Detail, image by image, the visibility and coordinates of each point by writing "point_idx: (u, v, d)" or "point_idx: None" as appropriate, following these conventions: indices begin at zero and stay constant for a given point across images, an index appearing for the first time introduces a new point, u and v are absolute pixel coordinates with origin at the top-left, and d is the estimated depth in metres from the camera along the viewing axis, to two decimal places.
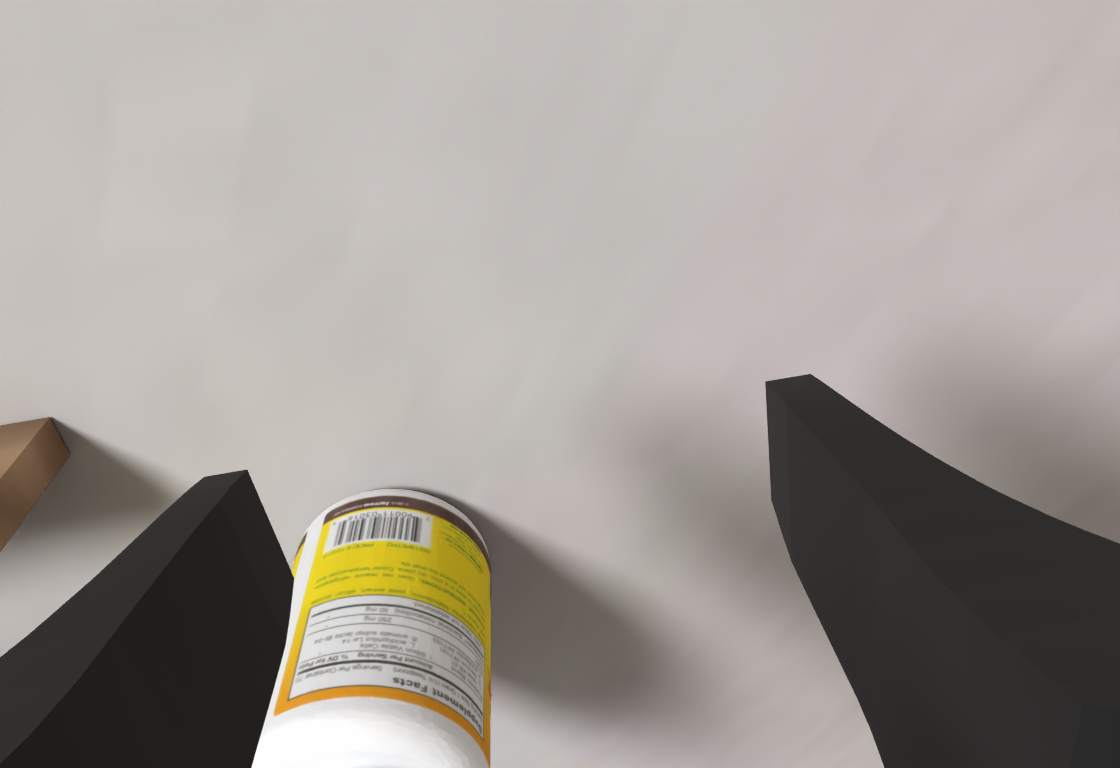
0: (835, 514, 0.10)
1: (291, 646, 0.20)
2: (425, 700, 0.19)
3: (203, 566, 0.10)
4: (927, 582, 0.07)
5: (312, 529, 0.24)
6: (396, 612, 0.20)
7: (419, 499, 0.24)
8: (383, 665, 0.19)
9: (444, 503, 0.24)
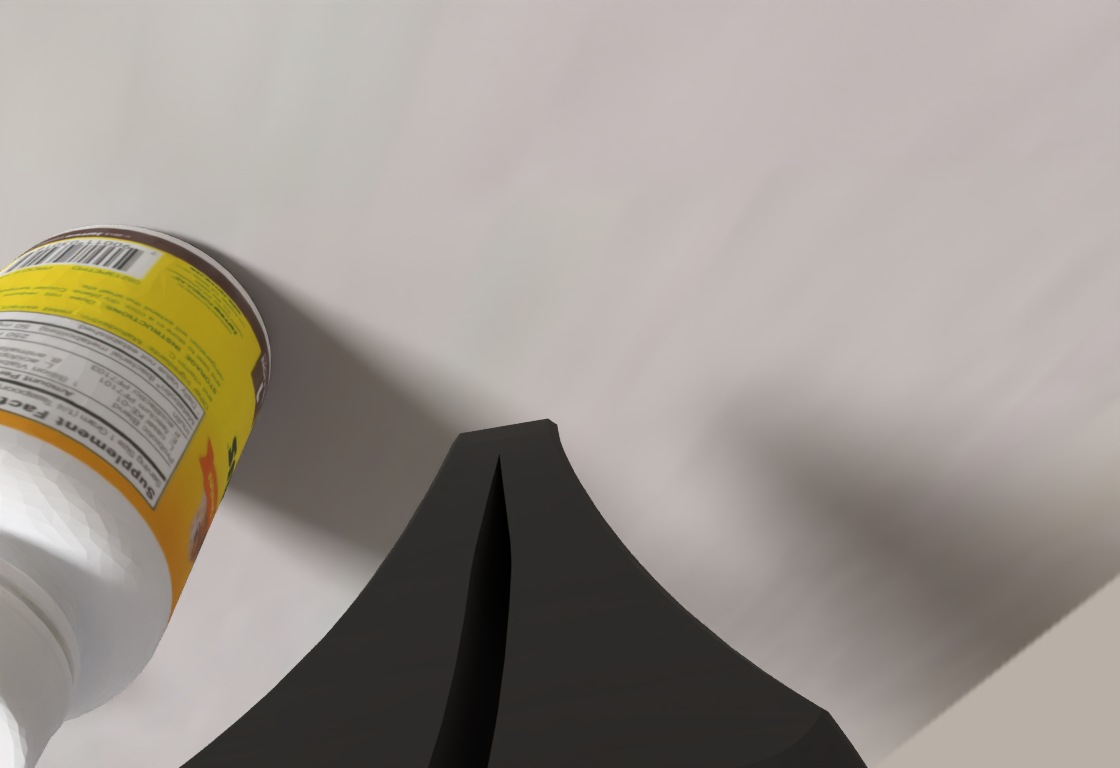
0: None
1: None
2: (35, 426, 0.12)
3: (498, 517, 0.10)
4: None
5: None
6: (41, 330, 0.13)
7: (151, 235, 0.17)
8: None
9: (192, 247, 0.18)
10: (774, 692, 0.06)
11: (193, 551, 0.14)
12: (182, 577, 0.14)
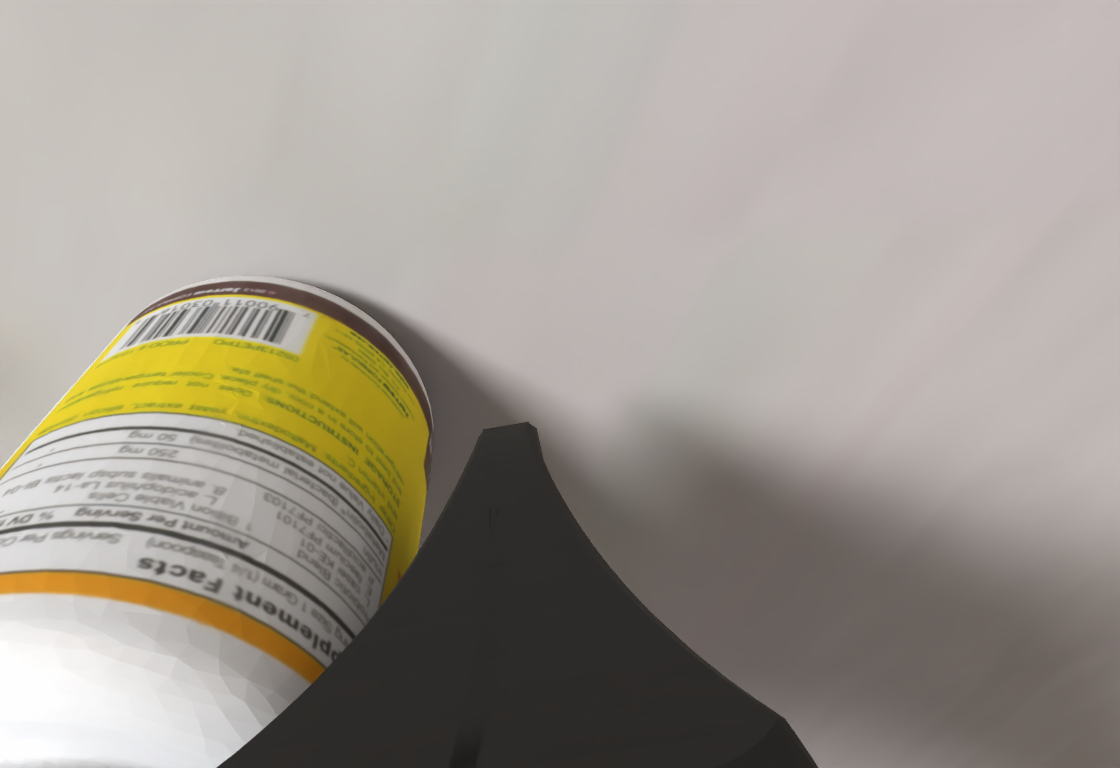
0: None
1: None
2: (209, 608, 0.08)
3: None
4: None
5: (110, 342, 0.14)
6: (192, 443, 0.10)
7: (298, 289, 0.13)
8: (125, 533, 0.08)
9: (346, 302, 0.14)
10: (733, 699, 0.06)
11: None
12: None
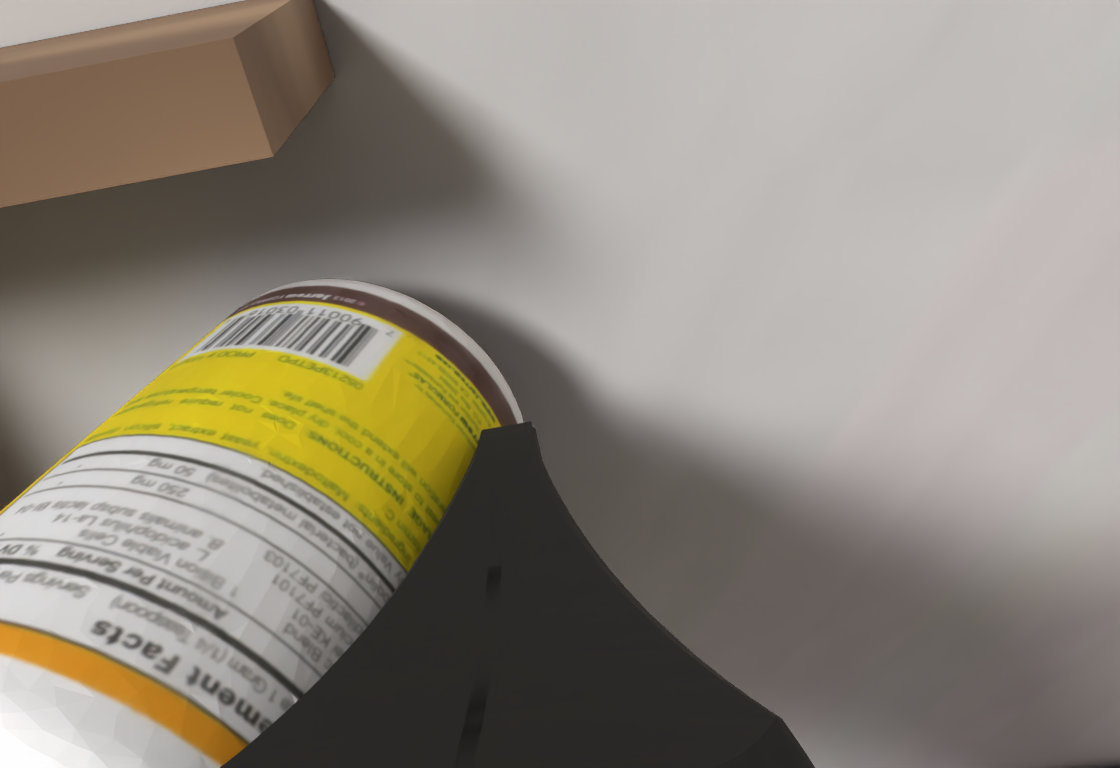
0: None
1: None
2: (150, 693, 0.07)
3: None
4: None
5: None
6: (208, 482, 0.09)
7: (391, 301, 0.12)
8: (94, 586, 0.08)
9: (442, 319, 0.13)
10: (730, 699, 0.06)
11: None
12: None
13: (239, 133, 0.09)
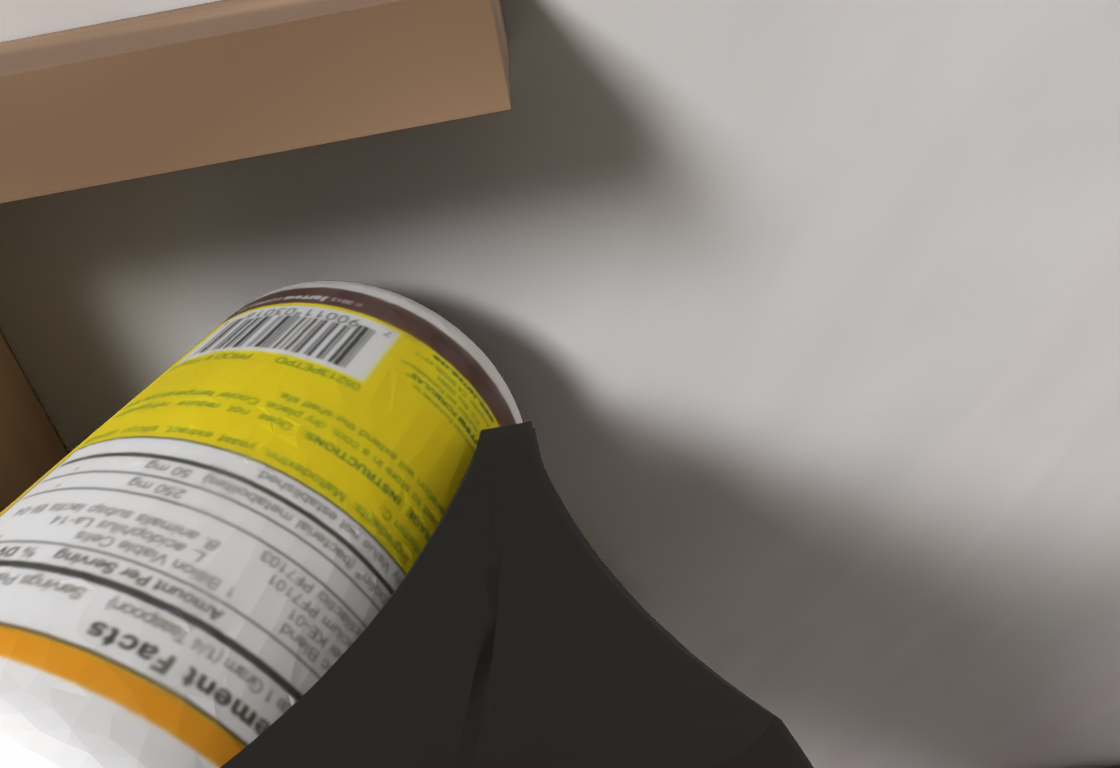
0: None
1: None
2: (148, 694, 0.07)
3: None
4: None
5: None
6: (204, 483, 0.09)
7: (389, 302, 0.13)
8: (89, 588, 0.08)
9: (440, 320, 0.13)
10: (729, 700, 0.06)
11: None
12: None
13: (480, 84, 0.09)
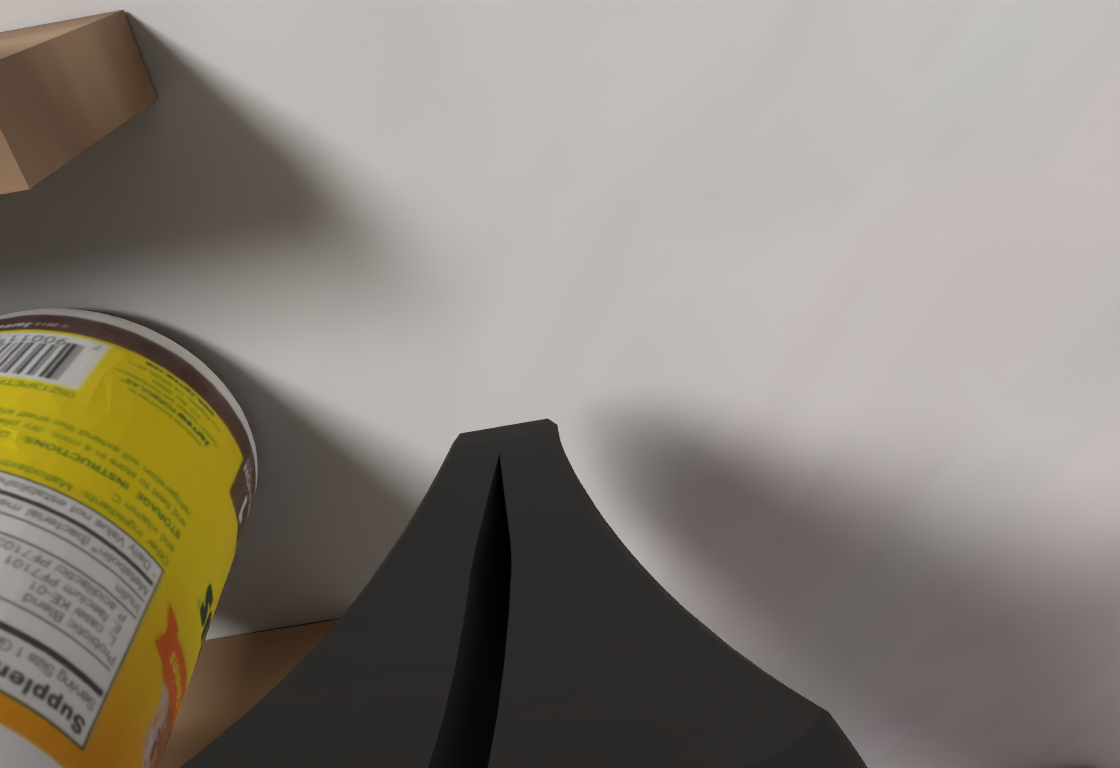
0: None
1: None
2: None
3: (498, 517, 0.10)
4: None
5: None
6: None
7: (95, 321, 0.13)
8: None
9: (150, 331, 0.14)
10: (774, 692, 0.06)
11: None
12: None
13: None
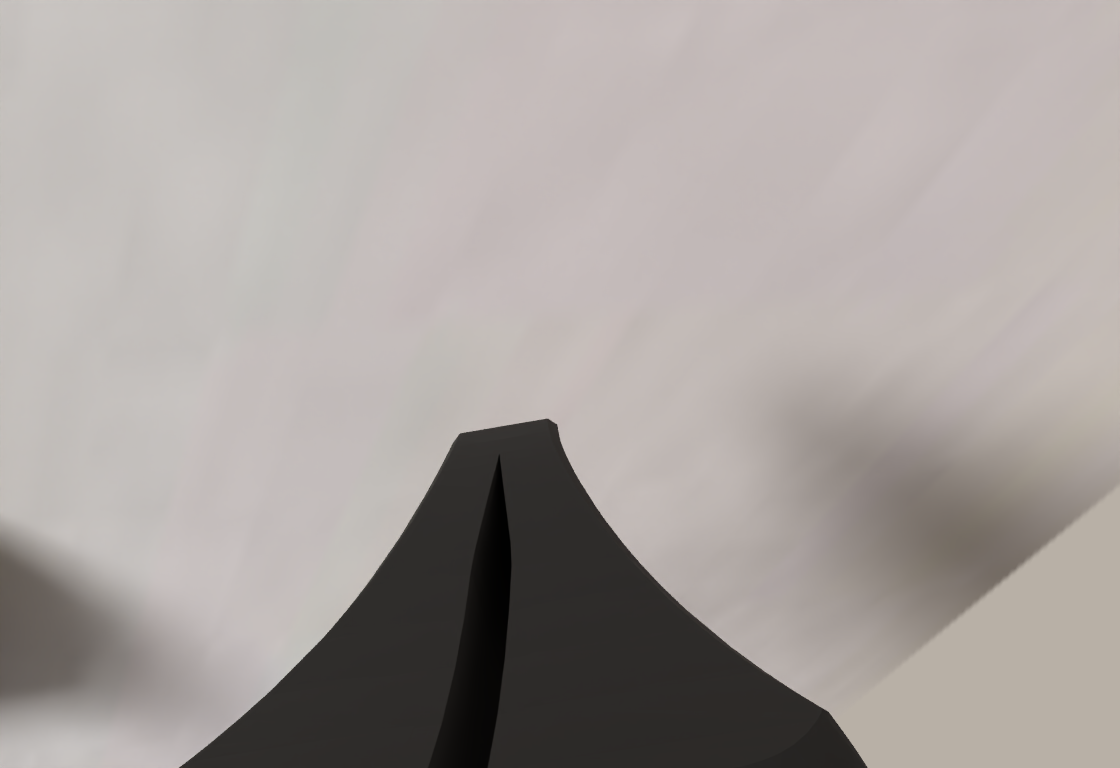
0: None
1: None
2: None
3: (498, 517, 0.10)
4: None
5: None
6: None
7: None
8: None
9: None
10: (775, 692, 0.06)
11: None
12: None
13: None
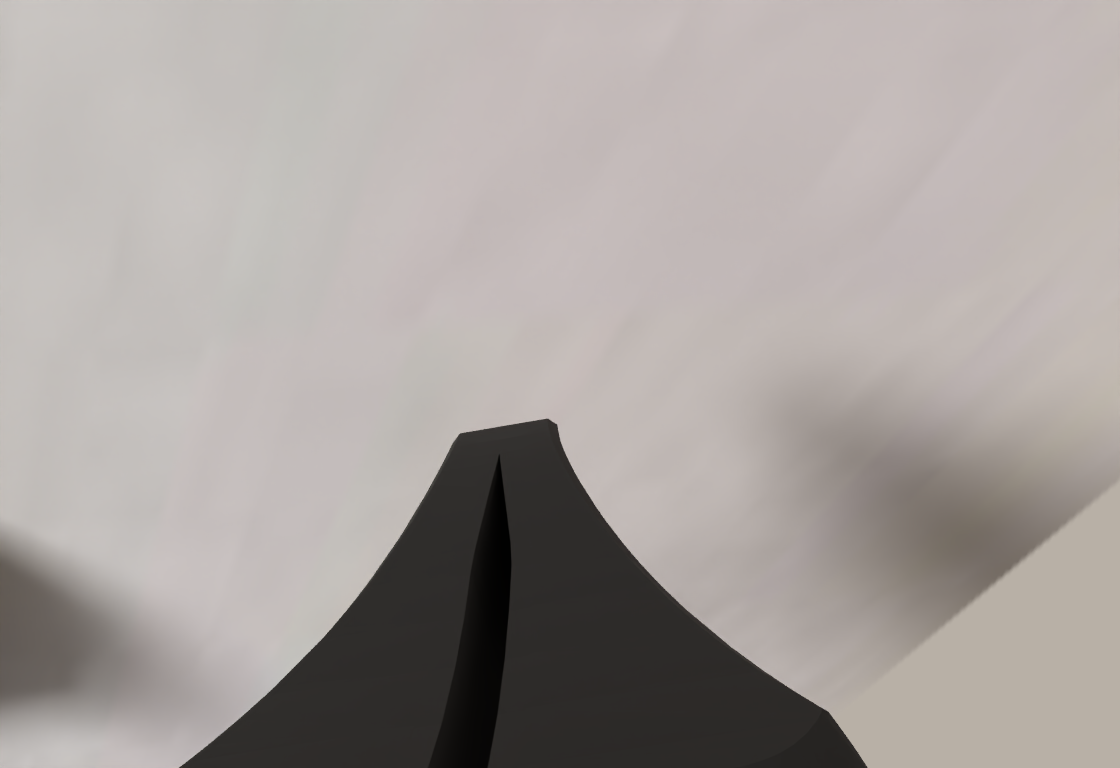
0: None
1: None
2: None
3: (498, 517, 0.10)
4: None
5: None
6: None
7: None
8: None
9: None
10: (775, 692, 0.06)
11: None
12: None
13: None
